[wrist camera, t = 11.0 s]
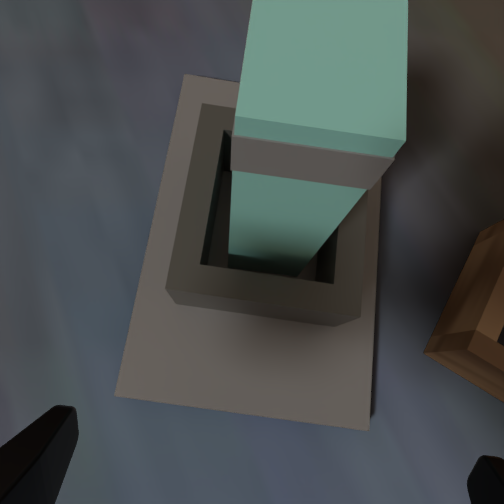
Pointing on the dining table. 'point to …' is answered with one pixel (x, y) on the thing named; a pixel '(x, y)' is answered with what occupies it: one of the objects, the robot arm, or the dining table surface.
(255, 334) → the port board
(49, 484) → the robot arm
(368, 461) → the dining table surface
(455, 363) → the holster
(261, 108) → the plug
